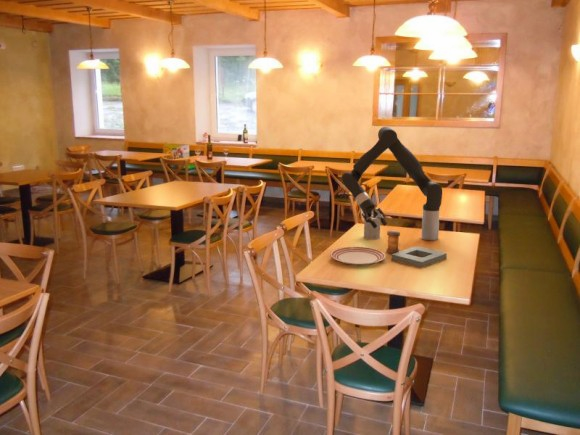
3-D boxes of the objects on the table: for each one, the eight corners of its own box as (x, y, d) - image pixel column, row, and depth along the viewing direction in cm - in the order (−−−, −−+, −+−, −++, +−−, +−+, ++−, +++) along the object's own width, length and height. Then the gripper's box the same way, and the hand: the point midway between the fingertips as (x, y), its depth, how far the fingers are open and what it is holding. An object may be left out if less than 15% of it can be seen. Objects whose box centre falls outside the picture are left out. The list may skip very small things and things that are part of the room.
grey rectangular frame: (416, 251, 280) (416, 246, 279) (446, 258, 267) (446, 253, 266) (391, 259, 265) (391, 254, 264) (421, 268, 252) (422, 262, 252)
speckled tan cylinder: (362, 238, 306) (363, 218, 303) (365, 234, 315) (365, 214, 312) (378, 239, 303) (379, 219, 300) (381, 235, 312) (381, 215, 309)
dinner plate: (384, 270, 250) (384, 263, 249) (327, 266, 255) (327, 260, 255) (385, 253, 276) (386, 247, 276) (334, 251, 282) (334, 245, 281)
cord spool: (391, 249, 283) (392, 229, 281) (401, 252, 279) (402, 232, 276) (384, 252, 279) (384, 232, 277) (394, 254, 274) (394, 234, 272)
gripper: (360, 199, 281) (376, 224, 275) (377, 196, 290) (393, 220, 284) (352, 208, 286) (368, 232, 280) (369, 204, 295) (384, 227, 289)
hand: (380, 226), depth 282 cm, fingers open, 8 cm apart
